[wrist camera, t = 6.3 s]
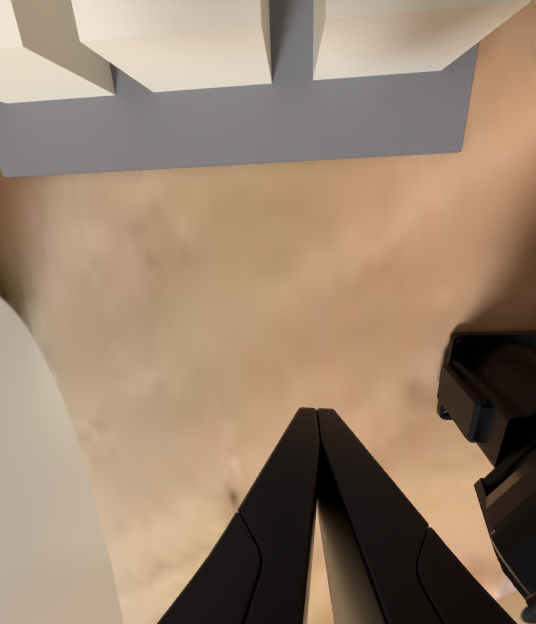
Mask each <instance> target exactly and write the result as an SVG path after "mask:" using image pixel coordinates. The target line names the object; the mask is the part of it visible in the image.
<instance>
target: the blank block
mask: <svg viewBox="0 0 536 624" xmlns="http://www.w3.org/2000/svg"><path fill="white" fill-rule="evenodd" d="M71 2H72V6H73V11H74V16H75V21H76V25H77V30H78V35H79V39H80V42H81V43H83V44H84V45H86V46H87V47H88V48H90V49H91V50H93V51H94V52H96V53H97V54H99V55H100V56H101V57H103V58H104V59H106V60H107V61H109V62H110V63H112V64H113V65H115V66H116V67H117V68H119V69H120V70H122V71H123V72H125V73H126V74H128V75H129V76H131V77H132V78H133V79H135V80H136V81H138V82H139V83H141V84H142V85H144V86H145V87H147V88H148V89H149V90H151V91H152V92H165V91H178V90H191V89H204V88H218V87H231V86H244V85H257V84H271V83H272V74H271V45H270V16H269V0H71Z"/></svg>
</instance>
